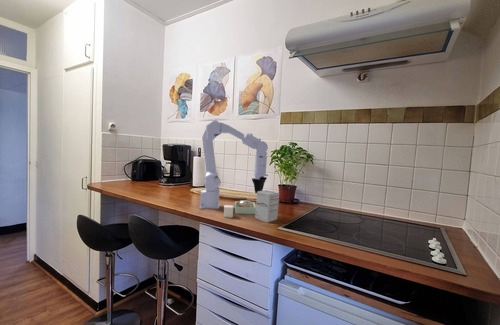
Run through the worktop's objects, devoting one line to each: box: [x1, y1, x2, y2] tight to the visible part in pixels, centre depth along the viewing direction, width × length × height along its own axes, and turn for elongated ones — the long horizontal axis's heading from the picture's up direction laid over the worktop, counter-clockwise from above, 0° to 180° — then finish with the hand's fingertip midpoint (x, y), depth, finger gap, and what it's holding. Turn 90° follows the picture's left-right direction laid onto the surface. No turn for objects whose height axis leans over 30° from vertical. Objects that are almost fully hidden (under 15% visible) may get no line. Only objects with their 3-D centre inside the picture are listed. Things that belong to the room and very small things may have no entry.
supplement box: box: [254, 189, 280, 223], centre depth 104 cm, size 7×7×13 cm
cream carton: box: [223, 204, 234, 218], centre depth 105 cm, size 4×4×5 cm
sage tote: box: [234, 200, 256, 215], centre depth 117 cm, size 10×12×4 cm
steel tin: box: [239, 199, 252, 207], centre depth 118 cm, size 6×6×4 cm
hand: (258, 192), depth 118 cm, fingers open, 7 cm apart
